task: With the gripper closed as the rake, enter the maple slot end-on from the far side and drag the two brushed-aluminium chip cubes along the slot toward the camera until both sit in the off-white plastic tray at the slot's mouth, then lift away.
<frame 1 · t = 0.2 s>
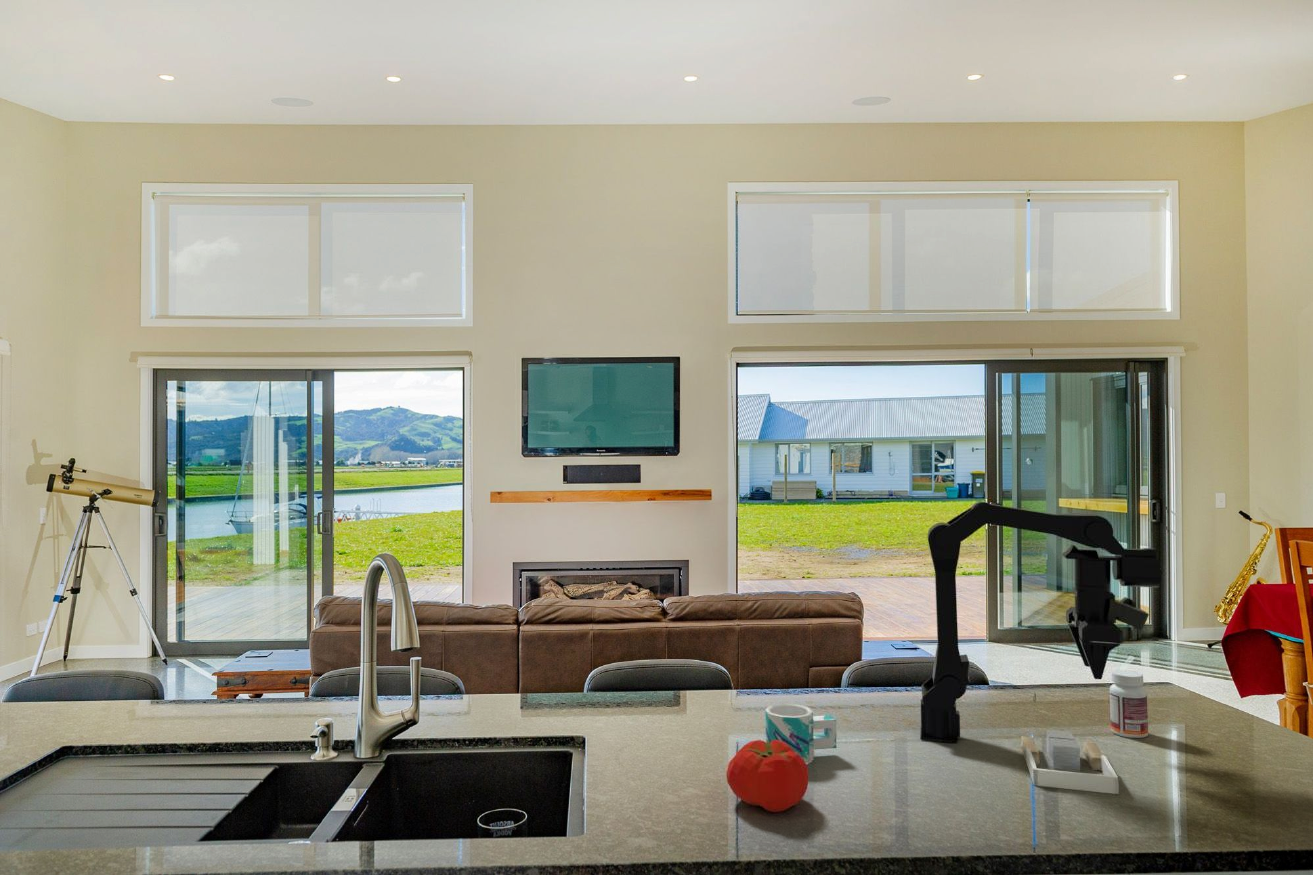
hand: (1092, 672, 147), 14 cm above the counter, fingers open, 9 cm apart
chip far: (1060, 757, 143), on the counter
chip tray: (1070, 777, 134), on the counter
tomato: (767, 804, 125), on the counter
slot rails: (1061, 758, 142), on the counter
pill bottle: (1129, 734, 155), on the counter
mug: (801, 758, 144), on the counter
chip near: (1065, 766, 139), on the counter
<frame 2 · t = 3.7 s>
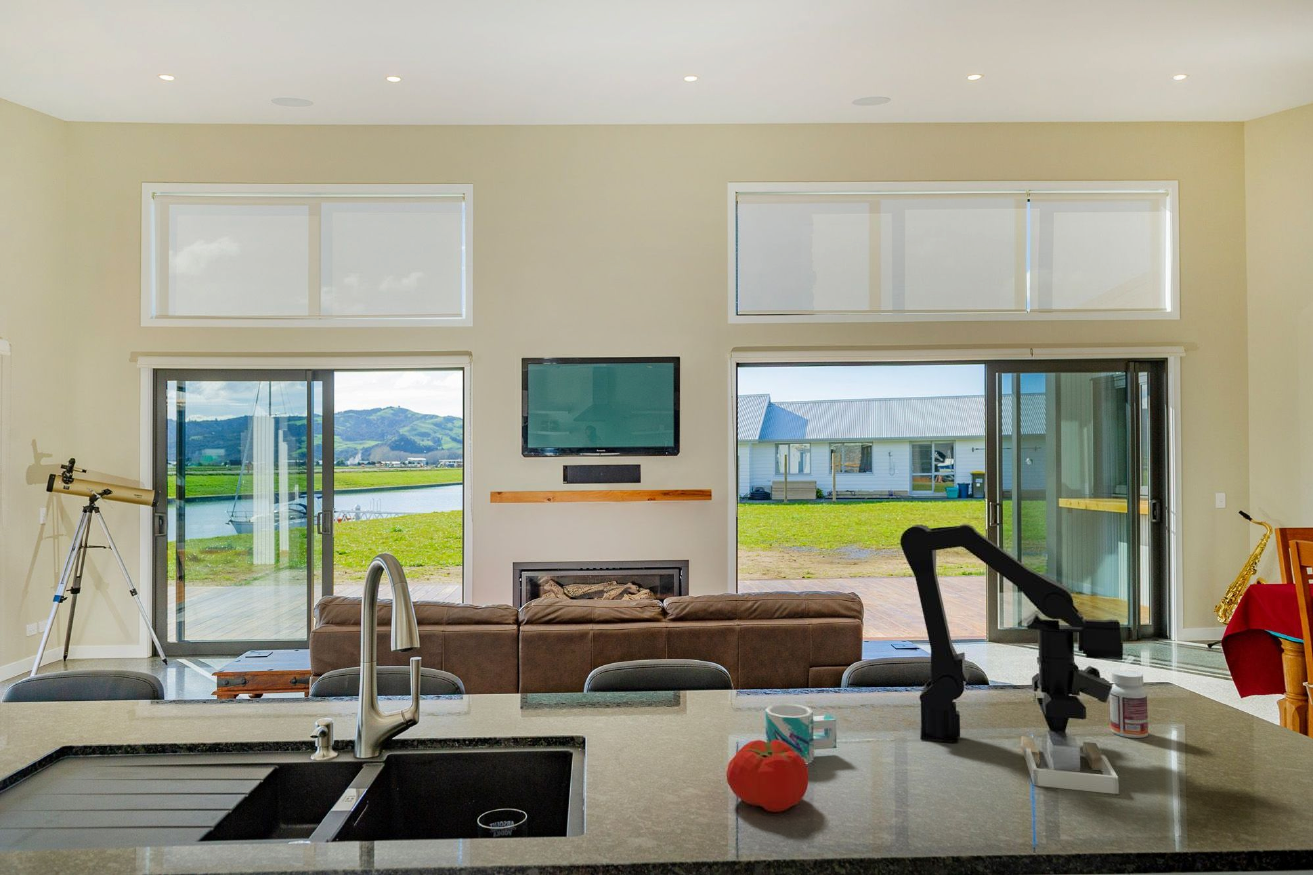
hand: (1058, 743, 146), 1 cm above the counter, fingers closed
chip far: (1061, 758, 143), on the counter, touching gripper
everything else where it was.
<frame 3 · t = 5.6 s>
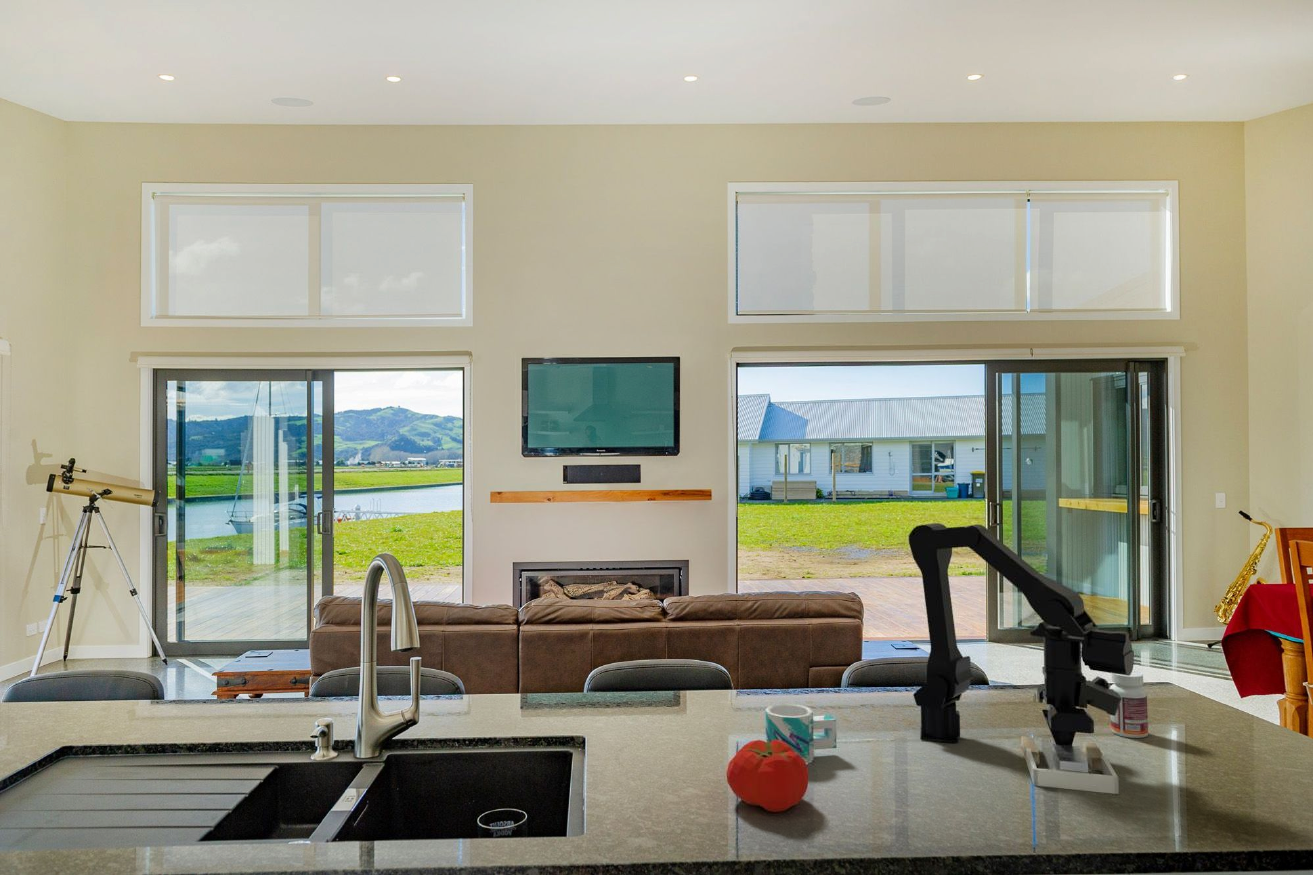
hand: (1064, 758, 139), 1 cm above the counter, fingers closed
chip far: (1068, 773, 136), on the counter, touching gripper
chip near: (1072, 783, 132), on the counter
everything else where it was.
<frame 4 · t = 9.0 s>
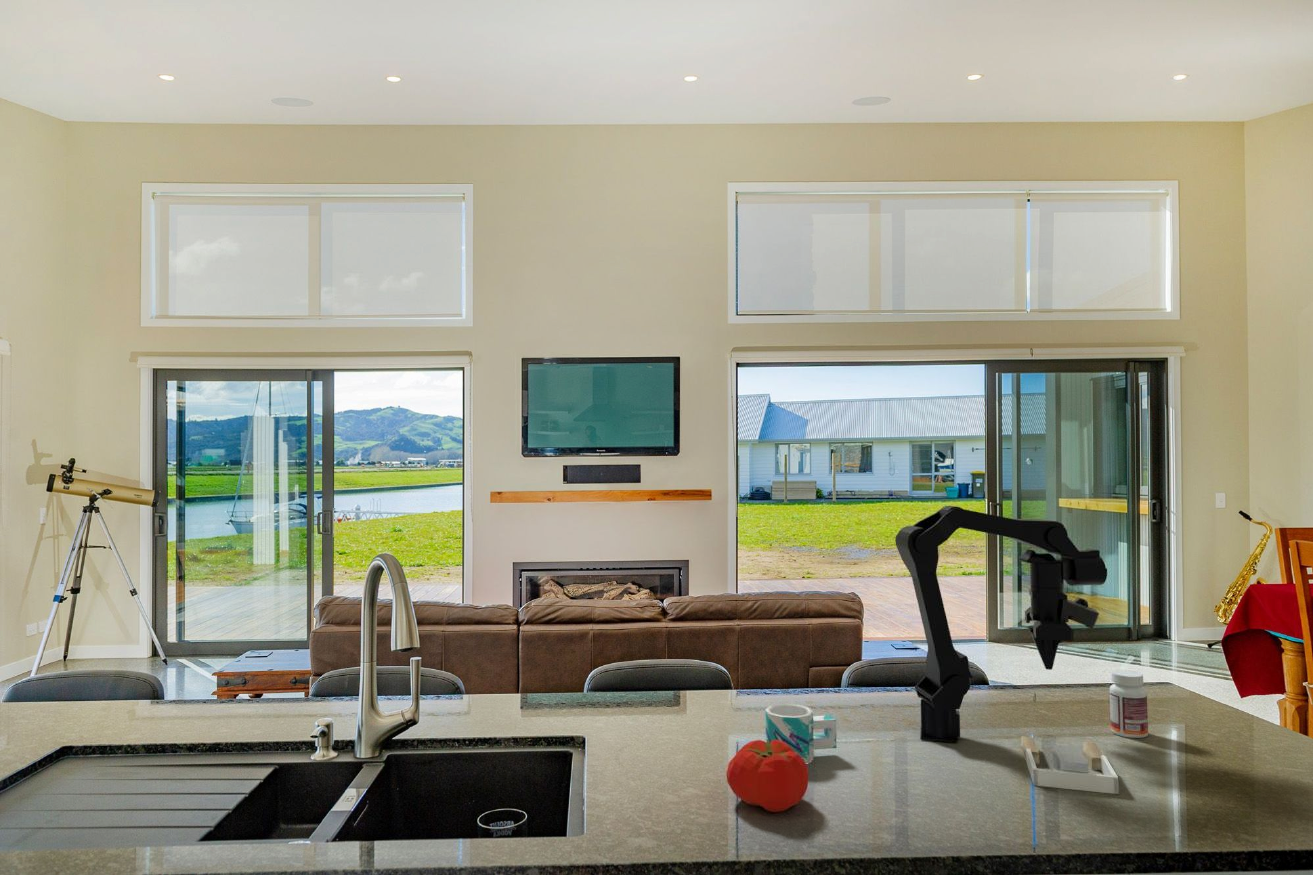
hand: (1048, 669, 156), 12 cm above the counter, fingers closed
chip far: (1068, 774, 136), on the counter
everything else where it was.
at the end: chip near inside the target area (1.4 cm from its centre), on the counter; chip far inside the target area (2.6 cm from its centre), on the counter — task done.
